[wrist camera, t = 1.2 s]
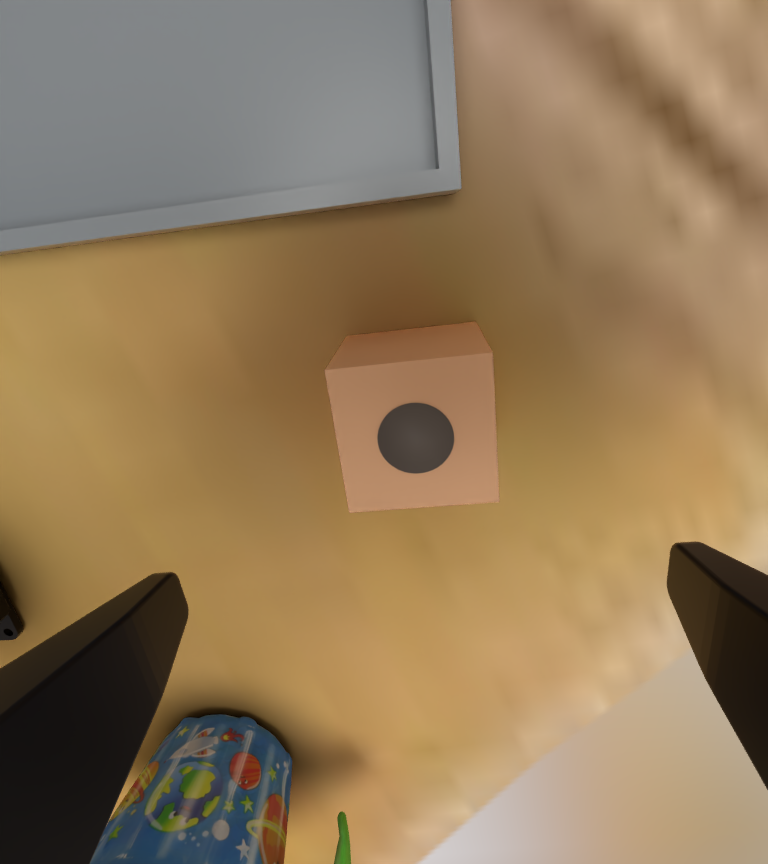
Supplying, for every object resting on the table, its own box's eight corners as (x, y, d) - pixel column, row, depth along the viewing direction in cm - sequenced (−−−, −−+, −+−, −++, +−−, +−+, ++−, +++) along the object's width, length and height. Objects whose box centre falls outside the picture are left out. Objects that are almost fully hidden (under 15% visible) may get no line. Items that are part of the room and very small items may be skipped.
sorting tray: (-64, 264, 20) (-143, 271, 17) (-247, -156, 15) (-396, -240, 12) (454, 193, 18) (461, 188, 15) (422, -319, 13) (423, -464, 10)
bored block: (364, 450, 22) (348, 513, 17) (346, 335, 20) (324, 370, 15) (482, 440, 21) (499, 502, 17) (475, 320, 19) (493, 352, 15)
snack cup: (114, 795, 32) (-11, 1033, 23) (84, 673, 28) (-84, 902, 19) (360, 820, 32) (335, 1074, 22) (365, 699, 27) (338, 948, 18)
